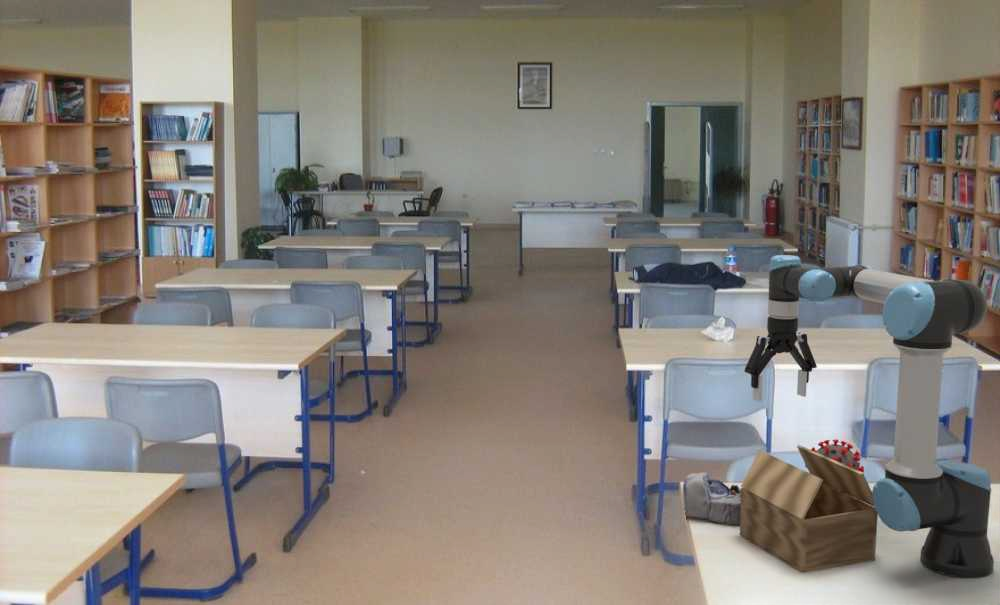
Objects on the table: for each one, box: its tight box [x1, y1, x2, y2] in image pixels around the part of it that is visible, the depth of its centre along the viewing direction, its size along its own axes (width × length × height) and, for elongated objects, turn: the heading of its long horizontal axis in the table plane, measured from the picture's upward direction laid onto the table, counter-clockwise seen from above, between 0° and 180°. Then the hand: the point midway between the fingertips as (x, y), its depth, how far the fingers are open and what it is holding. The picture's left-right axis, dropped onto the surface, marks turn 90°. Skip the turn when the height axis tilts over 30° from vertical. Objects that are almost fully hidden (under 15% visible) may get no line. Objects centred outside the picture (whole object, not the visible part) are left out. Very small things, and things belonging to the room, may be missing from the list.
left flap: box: [740, 449, 823, 520], centre depth 250 cm, size 23×10×1 cm
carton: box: [739, 483, 879, 574], centre depth 255 cm, size 24×20×12 cm
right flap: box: [796, 444, 874, 507], centre depth 256 cm, size 23×10×1 cm
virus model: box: [804, 438, 865, 493], centre depth 291 cm, size 14×15×15 cm
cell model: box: [682, 472, 741, 526], centre depth 275 cm, size 13×11×20 cm
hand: (779, 398), depth 282 cm, fingers open, 13 cm apart
